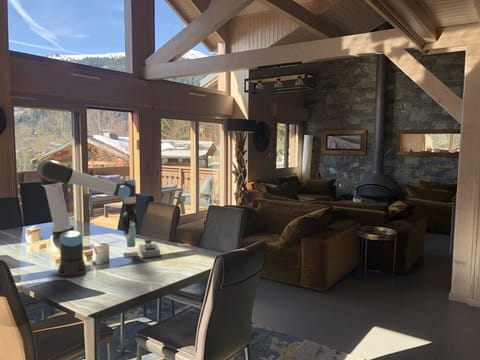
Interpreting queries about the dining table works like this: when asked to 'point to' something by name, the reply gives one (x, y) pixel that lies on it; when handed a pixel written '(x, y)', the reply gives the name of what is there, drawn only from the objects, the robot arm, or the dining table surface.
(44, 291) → the dining table surface
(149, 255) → the housing
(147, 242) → the plunger
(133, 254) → the mat
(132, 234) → the cartridge
